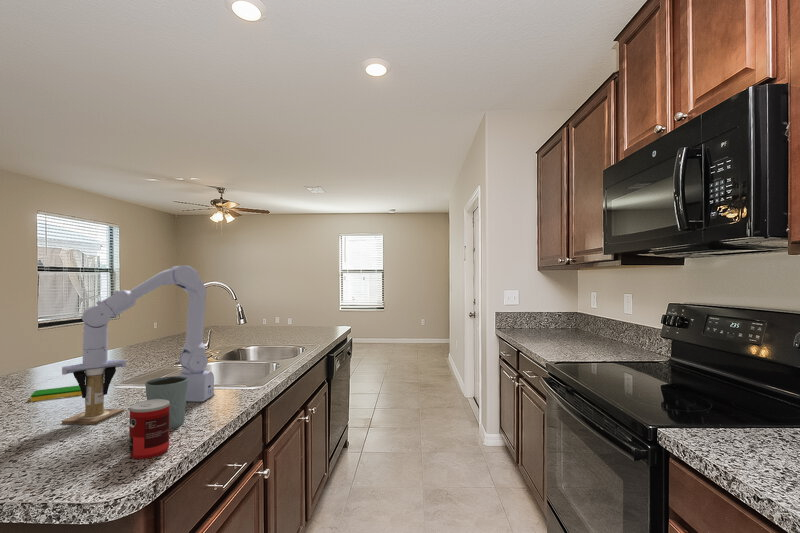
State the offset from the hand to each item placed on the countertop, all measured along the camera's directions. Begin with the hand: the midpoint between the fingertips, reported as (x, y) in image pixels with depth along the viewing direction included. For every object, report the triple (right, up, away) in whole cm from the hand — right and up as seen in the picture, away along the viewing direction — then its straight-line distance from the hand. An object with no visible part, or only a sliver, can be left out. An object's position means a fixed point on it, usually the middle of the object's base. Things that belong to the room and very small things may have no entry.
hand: (94, 395), depth 115 cm
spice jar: (0, -6, 0) cm, 6 cm away
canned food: (+30, -6, -23) cm, 38 cm away
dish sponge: (-28, -7, +21) cm, 36 cm away
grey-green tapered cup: (+24, -6, -5) cm, 25 cm away
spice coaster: (0, -6, 0) cm, 6 cm away
